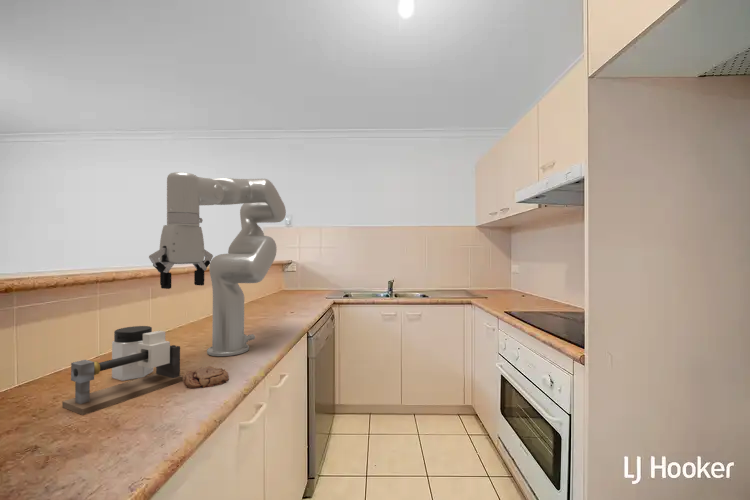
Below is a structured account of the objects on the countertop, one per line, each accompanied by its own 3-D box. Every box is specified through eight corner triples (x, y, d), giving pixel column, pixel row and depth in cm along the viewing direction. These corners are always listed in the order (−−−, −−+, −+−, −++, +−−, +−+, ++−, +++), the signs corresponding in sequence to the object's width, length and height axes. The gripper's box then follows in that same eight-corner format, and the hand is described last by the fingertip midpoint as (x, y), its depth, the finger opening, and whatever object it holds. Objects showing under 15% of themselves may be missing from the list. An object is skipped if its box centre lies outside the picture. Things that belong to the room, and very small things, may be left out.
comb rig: (162, 375, 92) (162, 339, 92) (182, 380, 88) (182, 343, 88) (62, 407, 73) (62, 361, 73) (82, 415, 69) (83, 367, 69)
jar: (110, 383, 86) (111, 334, 87) (112, 373, 93) (113, 328, 93) (153, 376, 91) (154, 329, 92) (153, 367, 98) (153, 324, 98)
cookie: (222, 388, 84) (222, 376, 84) (175, 390, 83) (175, 377, 83) (234, 374, 94) (234, 363, 94) (191, 375, 92) (192, 364, 92)
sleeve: (156, 360, 89) (156, 329, 89) (169, 363, 87) (170, 331, 87) (137, 365, 85) (138, 333, 85) (151, 368, 83) (151, 335, 83)
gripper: (203, 223, 102) (203, 283, 102) (140, 218, 87) (140, 289, 87) (221, 222, 99) (221, 284, 99) (159, 217, 83) (159, 290, 83)
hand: (183, 286), depth 93 cm, fingers open, 8 cm apart
